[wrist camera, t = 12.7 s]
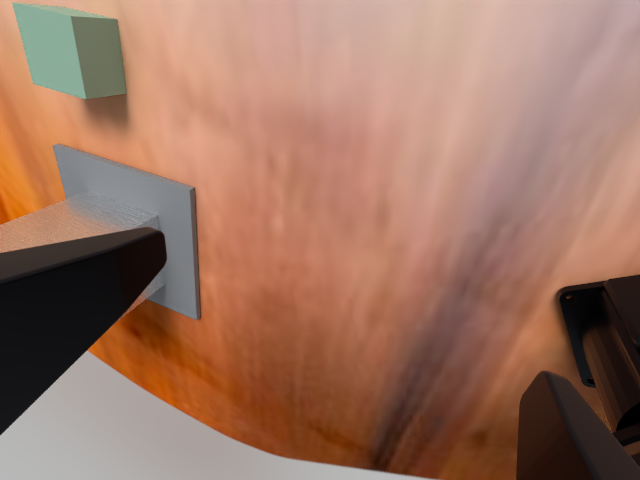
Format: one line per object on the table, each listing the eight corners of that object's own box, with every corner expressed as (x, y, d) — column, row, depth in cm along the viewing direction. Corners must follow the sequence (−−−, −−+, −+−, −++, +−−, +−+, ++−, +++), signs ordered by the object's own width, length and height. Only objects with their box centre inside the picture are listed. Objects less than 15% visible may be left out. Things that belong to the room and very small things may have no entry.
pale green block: (119, 19, 20) (70, 16, 18) (128, 93, 22) (86, 99, 20) (66, 7, 21) (12, 2, 19) (79, 79, 23) (33, 83, 21)
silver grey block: (158, 214, 25) (9, 296, 17) (165, 283, 29) (44, 378, 21) (89, 190, 27) (-79, 255, 19) (104, 258, 30) (-33, 338, 22)
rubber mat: (194, 187, 24) (189, 190, 23) (200, 316, 30) (196, 320, 30) (58, 143, 26) (52, 145, 26) (90, 270, 33) (85, 273, 32)
